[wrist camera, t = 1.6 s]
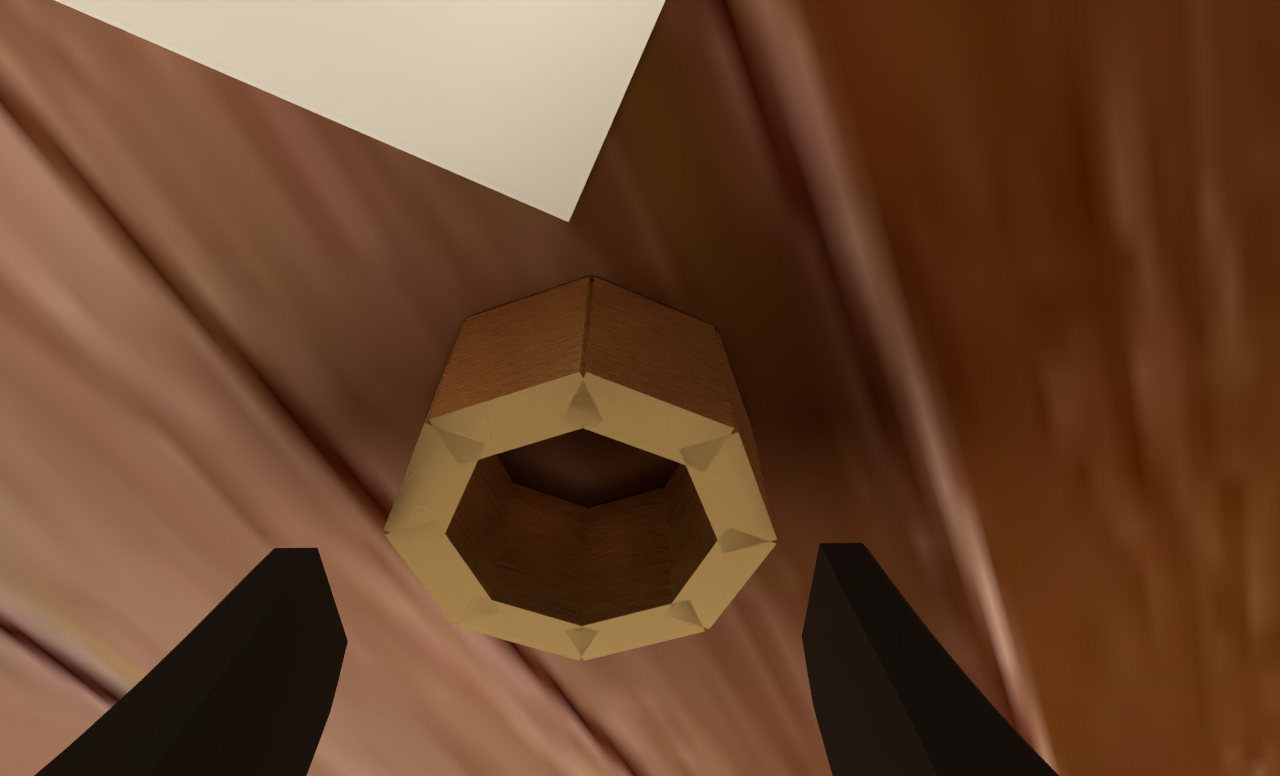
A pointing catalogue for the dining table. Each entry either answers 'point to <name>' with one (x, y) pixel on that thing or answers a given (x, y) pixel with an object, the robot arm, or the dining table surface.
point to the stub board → (429, 74)
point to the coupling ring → (564, 531)
